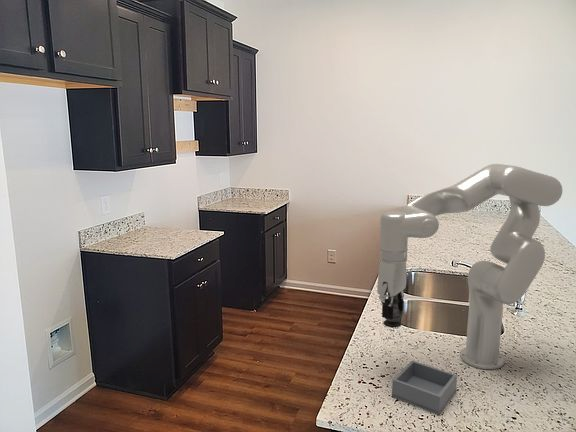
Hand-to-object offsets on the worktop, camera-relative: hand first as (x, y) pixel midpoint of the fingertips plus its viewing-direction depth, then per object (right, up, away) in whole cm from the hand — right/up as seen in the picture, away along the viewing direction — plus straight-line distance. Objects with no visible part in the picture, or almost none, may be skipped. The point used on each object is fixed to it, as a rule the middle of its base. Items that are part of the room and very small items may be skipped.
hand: (392, 313), depth 131 cm
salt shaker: (0, -3, +1) cm, 3 cm away
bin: (+7, -20, -8) cm, 23 cm away
